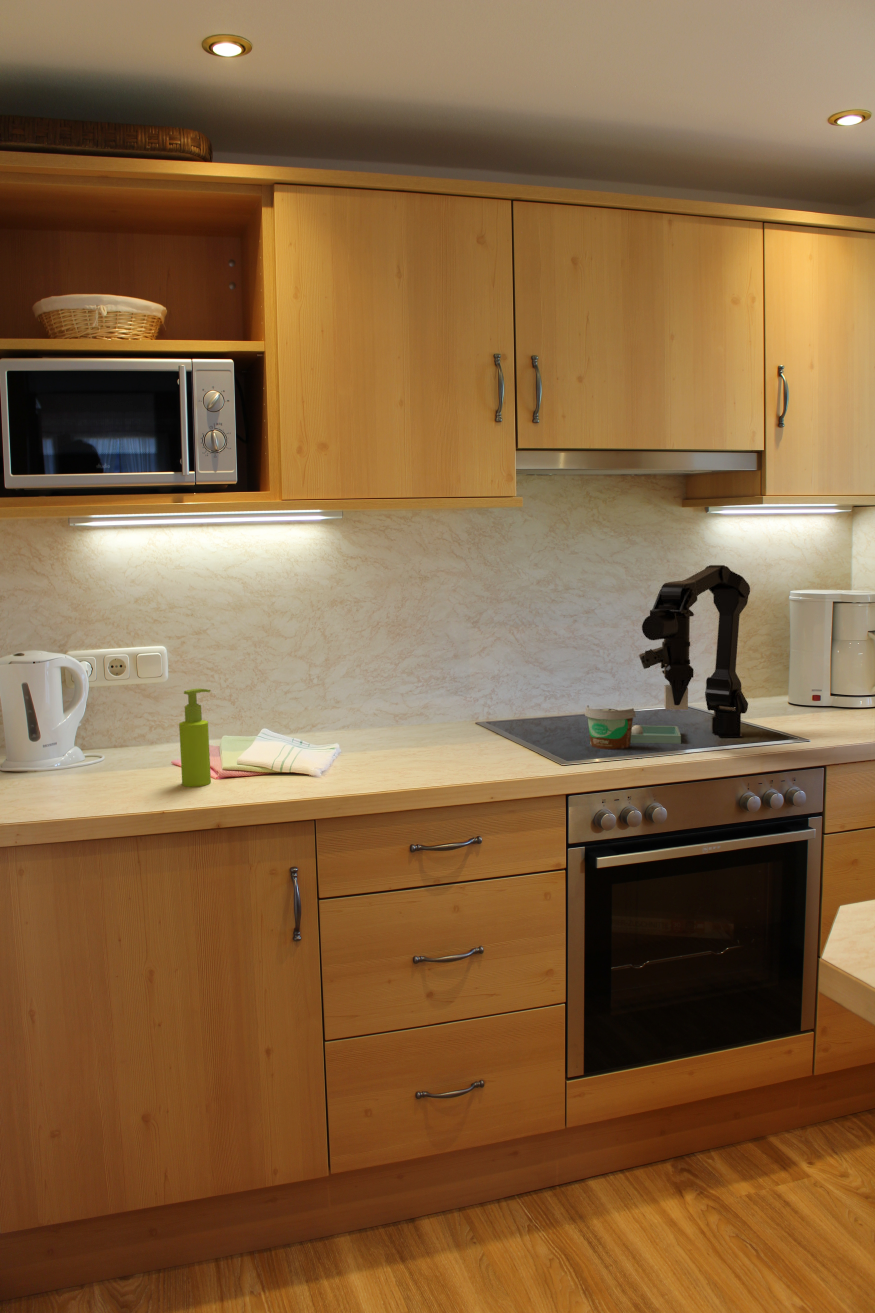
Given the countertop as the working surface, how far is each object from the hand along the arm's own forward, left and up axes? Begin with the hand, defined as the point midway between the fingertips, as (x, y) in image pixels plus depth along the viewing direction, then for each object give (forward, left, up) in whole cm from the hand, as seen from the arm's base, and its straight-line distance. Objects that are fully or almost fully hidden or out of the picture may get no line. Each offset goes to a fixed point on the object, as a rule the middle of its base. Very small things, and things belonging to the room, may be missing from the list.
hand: (676, 703), depth 218 cm
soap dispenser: (+101, +41, -12) cm, 110 cm away
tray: (+5, -12, -11) cm, 17 cm away
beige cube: (0, 0, -1) cm, 1 cm away
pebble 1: (+9, -14, -11) cm, 19 cm away
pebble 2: (+9, -10, -11) cm, 17 cm away
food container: (+16, 0, -12) cm, 20 cm away
